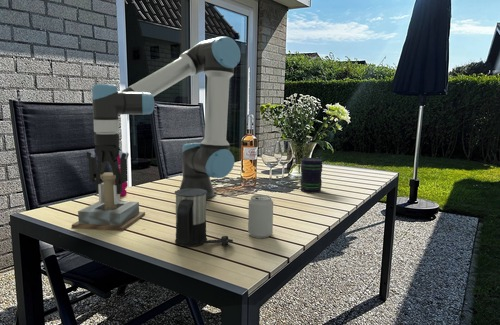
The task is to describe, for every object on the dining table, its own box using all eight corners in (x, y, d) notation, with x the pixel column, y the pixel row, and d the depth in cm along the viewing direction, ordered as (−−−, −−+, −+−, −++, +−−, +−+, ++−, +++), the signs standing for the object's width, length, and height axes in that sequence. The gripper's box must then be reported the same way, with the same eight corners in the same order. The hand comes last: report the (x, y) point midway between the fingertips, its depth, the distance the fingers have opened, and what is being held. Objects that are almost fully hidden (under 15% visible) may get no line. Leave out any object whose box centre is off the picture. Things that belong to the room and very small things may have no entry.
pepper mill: (122, 197, 152) (120, 150, 149) (106, 196, 154) (104, 149, 151) (131, 193, 159) (129, 148, 156) (116, 192, 161) (114, 147, 158)
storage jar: (320, 188, 175) (321, 158, 173) (322, 193, 165) (323, 161, 163) (299, 188, 176) (300, 157, 174) (300, 192, 166) (301, 160, 164)
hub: (145, 214, 129) (144, 201, 128) (122, 230, 112) (122, 215, 111) (100, 212, 131) (99, 198, 130) (71, 227, 114) (70, 212, 113)
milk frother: (174, 236, 108) (174, 188, 106) (227, 233, 111) (227, 186, 109) (175, 255, 94) (174, 200, 92) (235, 251, 98) (235, 198, 95)
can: (247, 230, 114) (247, 193, 112) (270, 230, 115) (271, 193, 113) (249, 239, 107) (249, 199, 105) (274, 238, 107) (275, 199, 106)
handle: (110, 221, 118) (108, 176, 115) (99, 217, 121) (96, 173, 119) (123, 217, 122) (121, 174, 119) (111, 214, 125) (109, 171, 123)
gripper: (137, 132, 120) (139, 201, 123) (87, 131, 122) (91, 199, 125) (127, 134, 112) (129, 207, 116) (74, 133, 114) (78, 204, 118)
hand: (109, 202), depth 121 cm, fingers open, 4 cm apart
